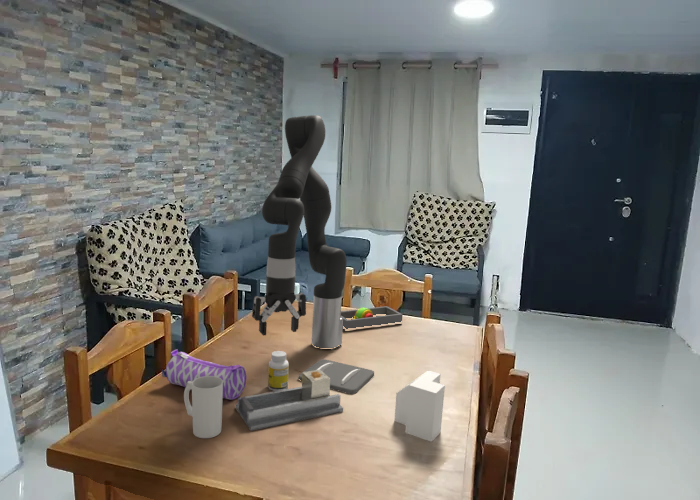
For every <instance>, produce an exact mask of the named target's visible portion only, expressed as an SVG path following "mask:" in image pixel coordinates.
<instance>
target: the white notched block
mask: <svg viewBox="0 0 700 500" xmlns="http://www.w3.org/2000/svg"><path fill="white" fill-rule="evenodd" d="M440 382H441V373H438V372H435V371H430V370H426V371H425V372H424V373H422V374H420V375H419V376H418V377H416V378H415V379H413V380H412V381H410V382H409V383H408V384H407V385H405V386H403V387H402V388H401V389H400V390H398V392H396V395H395V406H394V407H395V409H394V422H396V423H398V424H402V425H405V434H407V435H408V434H409V435H411V436H414V437H416V438H419V439H422V440H425V441H428V442H433V441H434V440H435V439H436V438H437V436H438V437H439V435H440V433H441V432H442V421H443V420H442V419H443V412H444V411H443V410H444V399H445V391H446V390H445V388H446V385H445V384H442V383H440Z"/></svg>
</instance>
